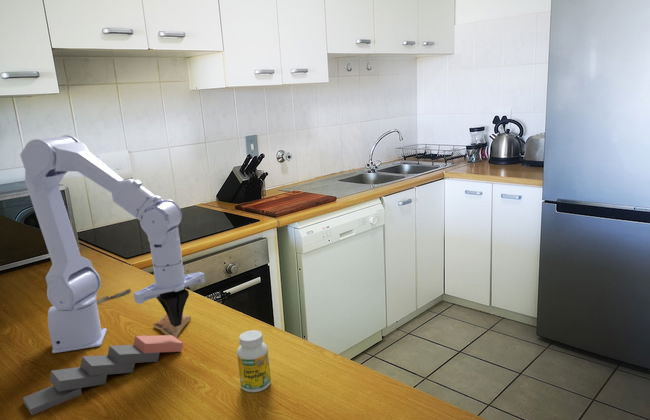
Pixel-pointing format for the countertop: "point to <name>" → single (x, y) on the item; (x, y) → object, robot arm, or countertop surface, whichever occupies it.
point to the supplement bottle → (253, 362)
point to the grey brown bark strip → (112, 296)
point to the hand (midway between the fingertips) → (175, 324)
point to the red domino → (158, 343)
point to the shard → (170, 329)
